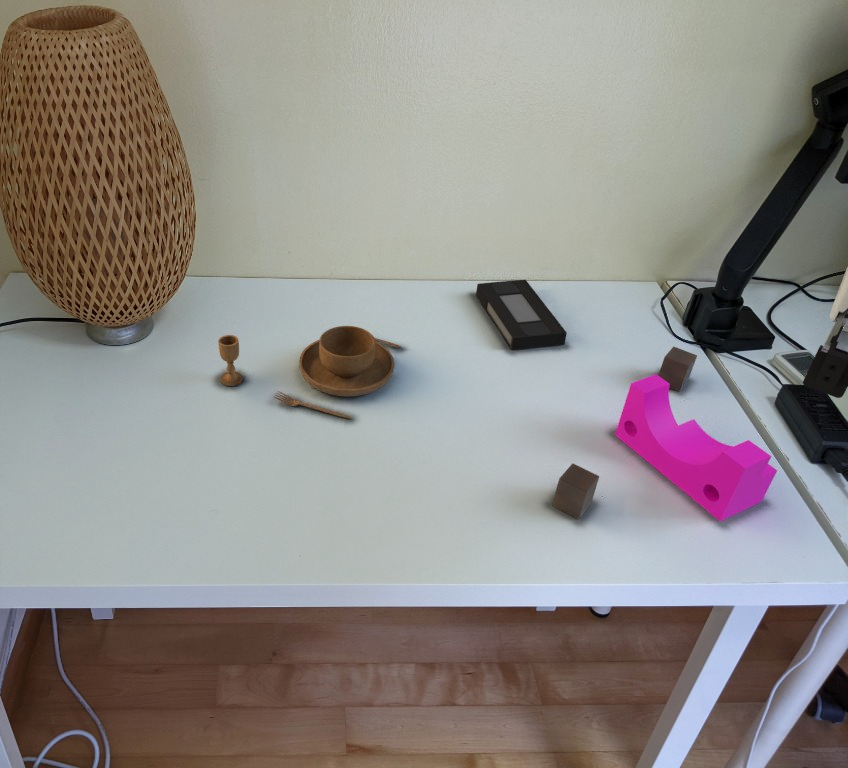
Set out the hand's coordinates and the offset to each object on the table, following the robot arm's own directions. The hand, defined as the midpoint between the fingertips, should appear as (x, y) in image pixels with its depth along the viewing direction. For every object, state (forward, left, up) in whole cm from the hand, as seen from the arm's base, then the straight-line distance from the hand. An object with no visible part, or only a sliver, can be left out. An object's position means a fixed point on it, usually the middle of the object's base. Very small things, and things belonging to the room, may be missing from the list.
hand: (834, 365), depth 71 cm
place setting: (+51, +13, -18) cm, 56 cm away
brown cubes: (+15, 0, -18) cm, 23 cm away
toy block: (+9, +1, -18) cm, 20 cm away
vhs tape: (+37, -14, -18) cm, 44 cm away
